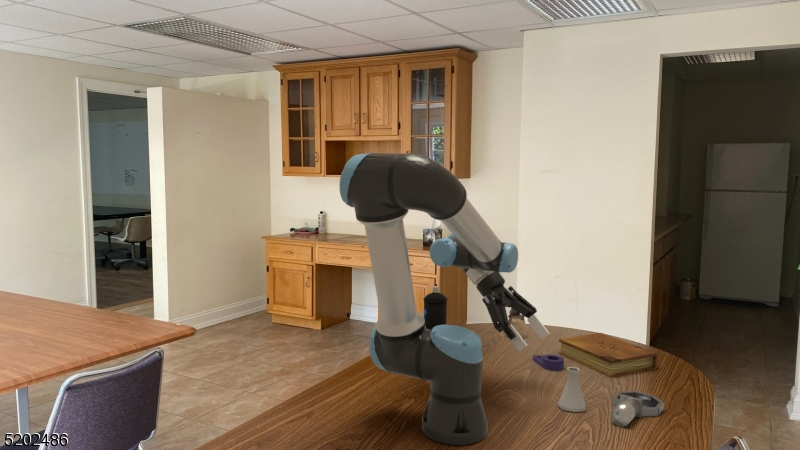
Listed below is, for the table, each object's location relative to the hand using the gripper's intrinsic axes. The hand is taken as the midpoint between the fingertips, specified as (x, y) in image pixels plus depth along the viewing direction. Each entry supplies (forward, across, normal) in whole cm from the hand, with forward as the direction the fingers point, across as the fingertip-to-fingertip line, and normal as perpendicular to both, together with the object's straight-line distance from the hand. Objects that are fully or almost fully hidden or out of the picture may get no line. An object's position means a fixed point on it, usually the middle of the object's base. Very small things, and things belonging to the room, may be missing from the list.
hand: (535, 342), depth 152 cm
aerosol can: (-22, -20, -43) cm, 52 cm away
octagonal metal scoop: (+27, -7, +6) cm, 29 cm away
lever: (+6, -26, -16) cm, 31 cm away
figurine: (-9, -47, -31) cm, 57 cm away
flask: (+18, 0, -3) cm, 18 cm away
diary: (+15, -41, -7) cm, 44 cm away
